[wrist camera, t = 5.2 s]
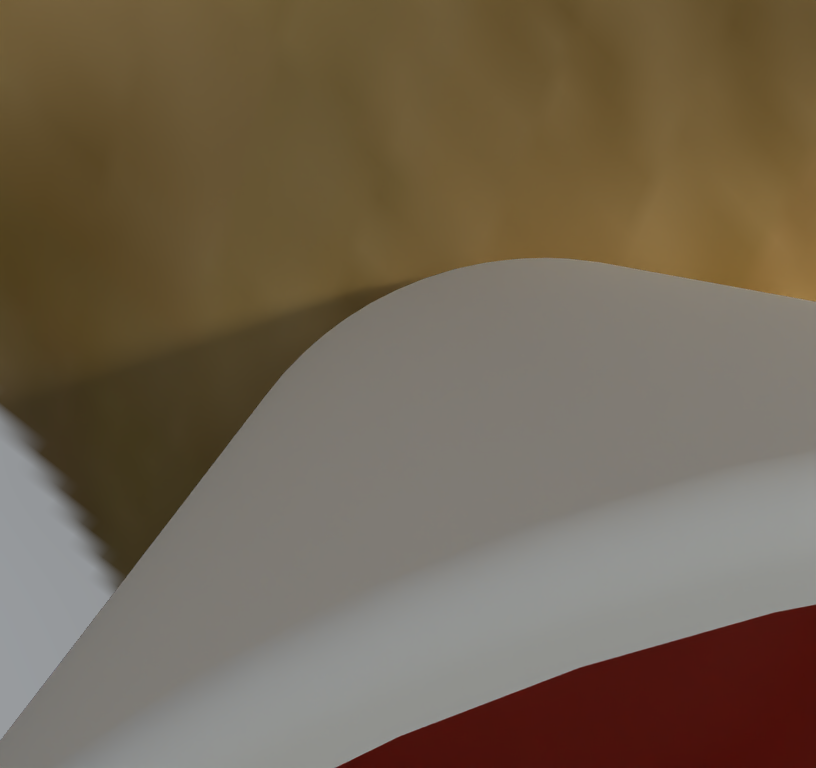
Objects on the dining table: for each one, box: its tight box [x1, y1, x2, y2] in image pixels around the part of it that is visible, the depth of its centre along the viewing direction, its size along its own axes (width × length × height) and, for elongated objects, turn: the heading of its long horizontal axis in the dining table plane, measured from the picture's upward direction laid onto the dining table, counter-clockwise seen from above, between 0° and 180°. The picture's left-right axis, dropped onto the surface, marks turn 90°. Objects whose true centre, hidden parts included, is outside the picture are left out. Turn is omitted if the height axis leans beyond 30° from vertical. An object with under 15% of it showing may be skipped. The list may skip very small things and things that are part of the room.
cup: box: [0, 258, 816, 768], centre depth 8 cm, size 10×10×10 cm
